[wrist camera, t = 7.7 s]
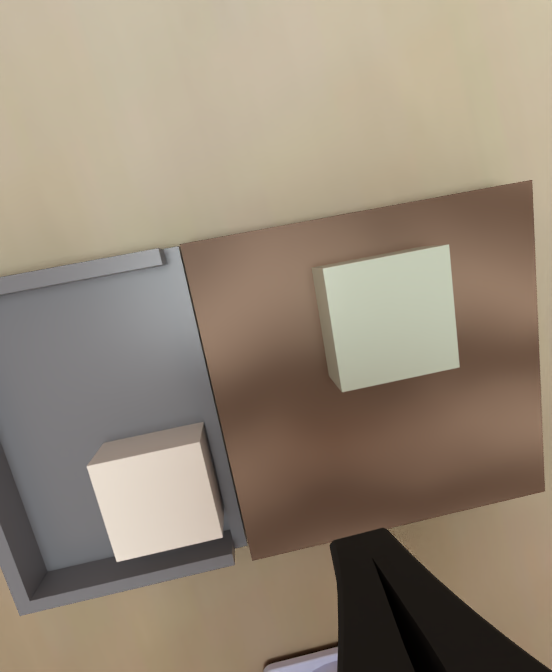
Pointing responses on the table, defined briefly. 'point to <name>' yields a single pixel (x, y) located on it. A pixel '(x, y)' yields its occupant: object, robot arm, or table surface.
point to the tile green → (387, 316)
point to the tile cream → (158, 491)
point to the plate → (379, 400)
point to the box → (96, 419)
